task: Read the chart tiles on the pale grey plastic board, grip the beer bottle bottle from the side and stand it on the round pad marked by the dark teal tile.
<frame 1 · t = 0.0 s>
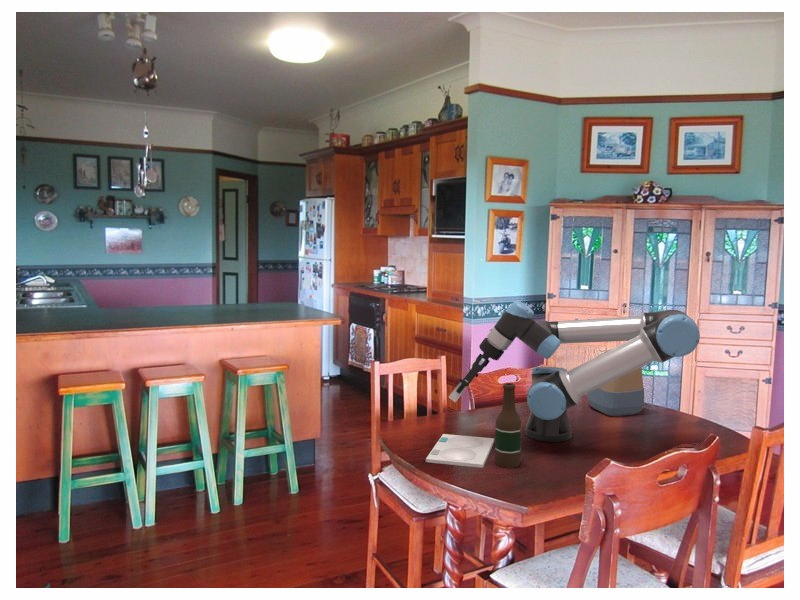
hand: (456, 394, 209), 15 cm above the table, tool tilted 35°, fingers open, 13 cm apart
tan tapered boxy piece: (615, 411, 244), on the table
beer bottle: (507, 464, 190), on the table
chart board: (461, 451, 200), on the table
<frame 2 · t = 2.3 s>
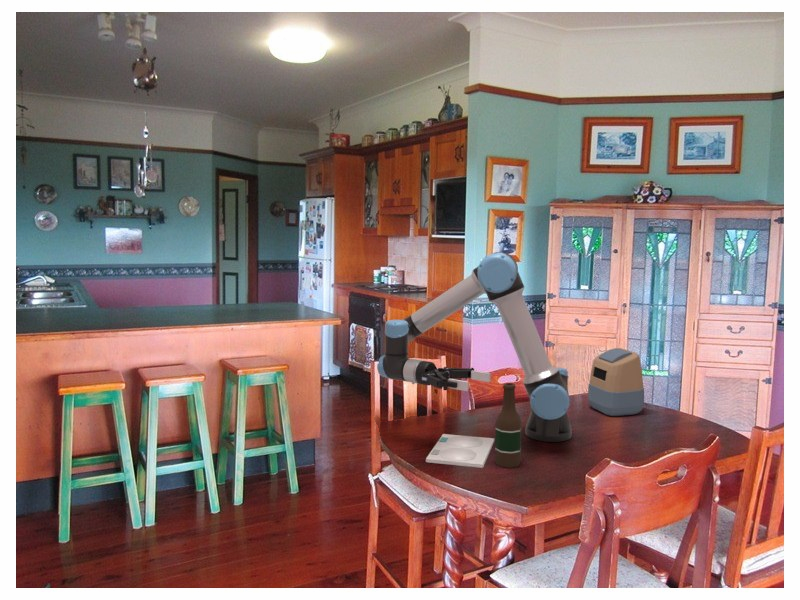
hand: (479, 382, 193), 23 cm above the table, tool horizontal, fingers open, 13 cm apart
nothing on the table moved.
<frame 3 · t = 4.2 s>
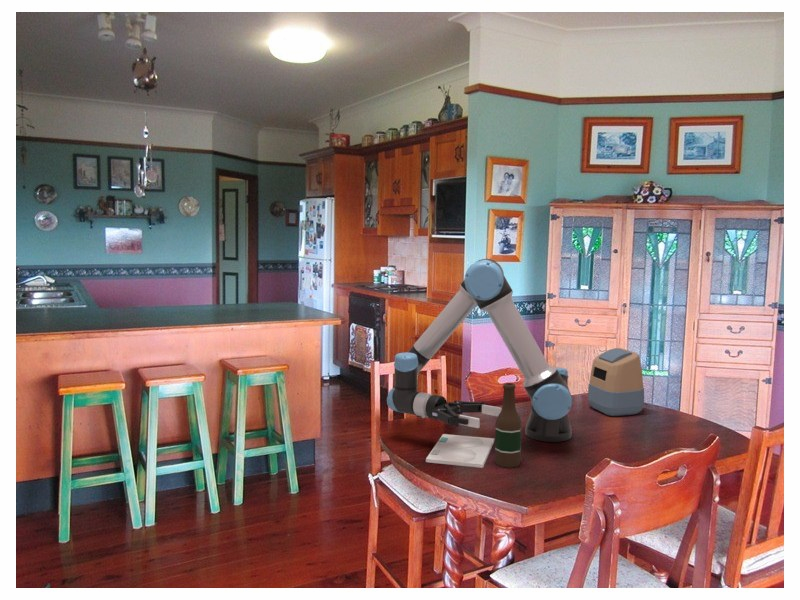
hand: (490, 417, 191), 13 cm above the table, tool horizontal, fingers open, 13 cm apart
nothing on the table moved.
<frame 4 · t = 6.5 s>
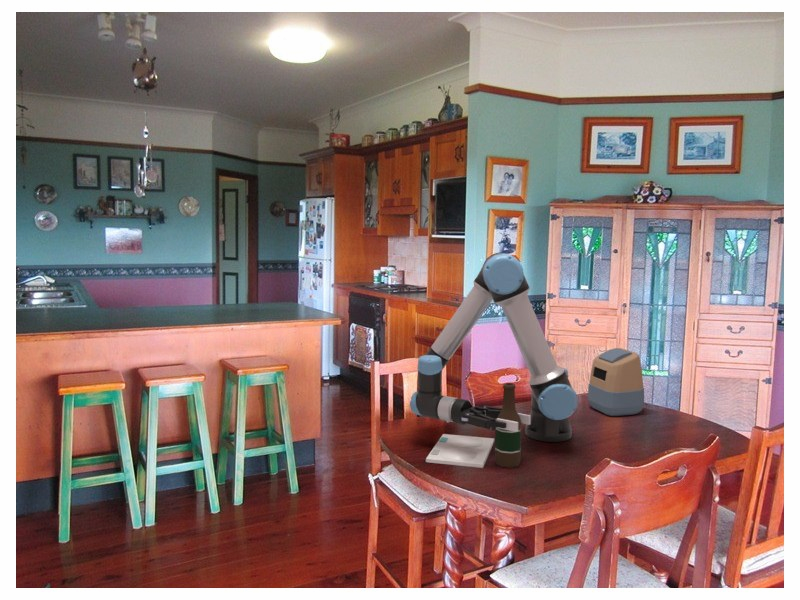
hand: (523, 423, 186), 13 cm above the table, tool horizontal, fingers closed on beer bottle, 7 cm apart
beer bottle: (507, 464, 190), on the table, touching gripper
everything else where it was.
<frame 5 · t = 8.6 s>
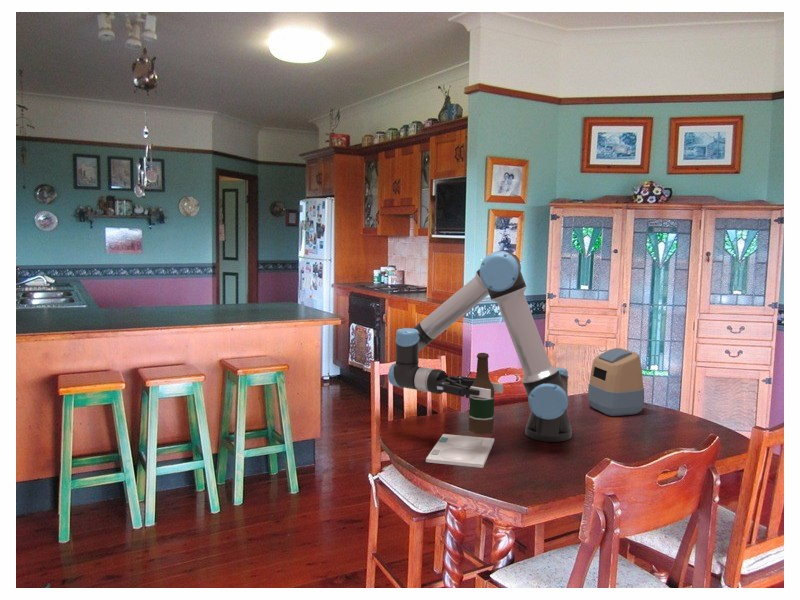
hand: (496, 391, 193), 20 cm above the table, tool horizontal, fingers closed on beer bottle, 7 cm apart
beer bottle: (481, 431, 198), point 7 cm above the table, touching gripper
everything else where it was.
when the fingers open (15 cm above the table, at t = 10.7 s): beer bottle drops 1 cm, resting on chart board.
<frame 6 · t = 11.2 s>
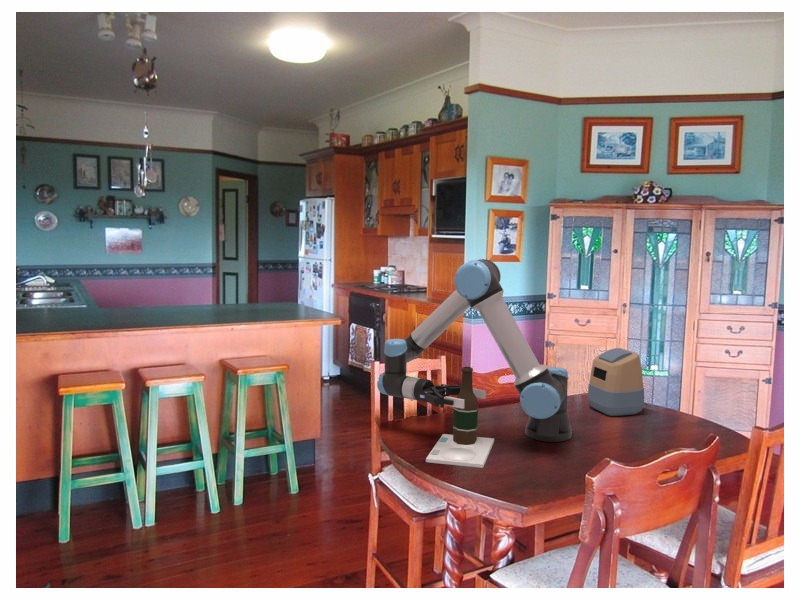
hand: (474, 399, 202), 15 cm above the table, tool horizontal, fingers open, 13 cm apart
beer bottle: (464, 441, 206), point 1 cm above the table, touching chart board
everything else where it was.
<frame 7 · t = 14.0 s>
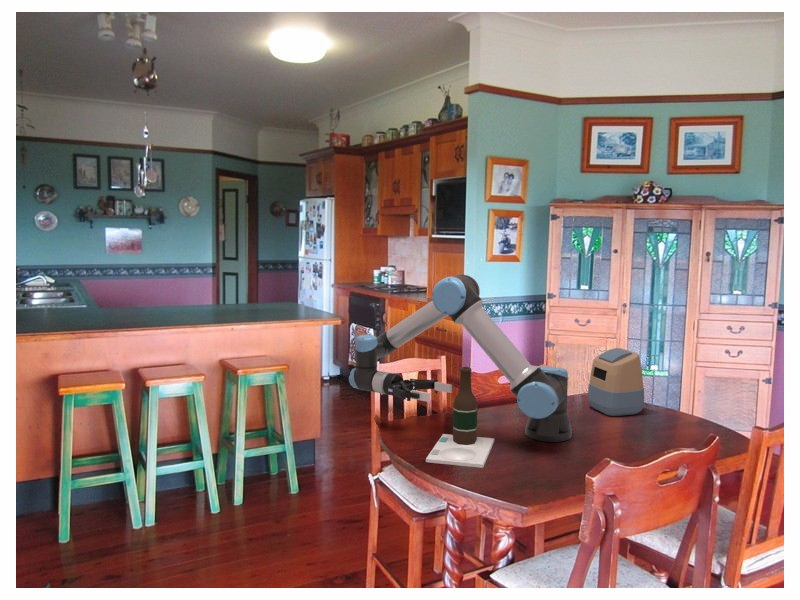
hand: (440, 393, 210), 16 cm above the table, tool horizontal, fingers open, 13 cm apart
nothing on the table moved.
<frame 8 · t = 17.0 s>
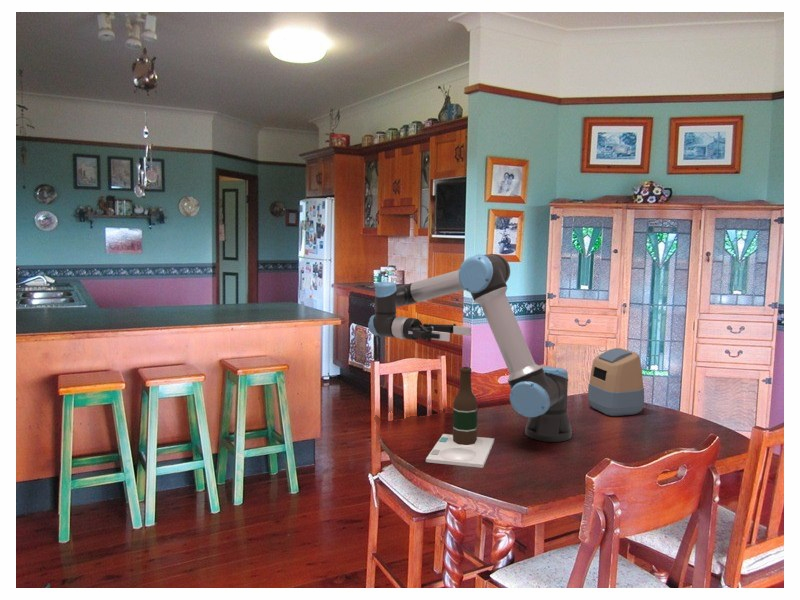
hand: (460, 334, 213), 34 cm above the table, tool horizontal, fingers open, 13 cm apart
nothing on the table moved.
at the end: beer bottle inside the target area (0.1 cm from its centre), point 1.0 cm above the table; beer bottle tilted 0°; the gripper is holding nothing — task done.
